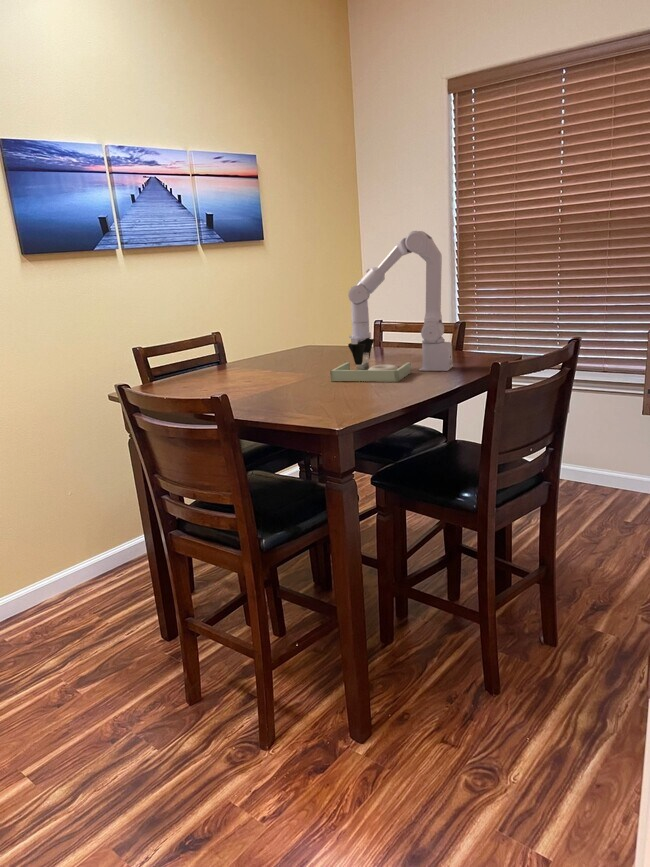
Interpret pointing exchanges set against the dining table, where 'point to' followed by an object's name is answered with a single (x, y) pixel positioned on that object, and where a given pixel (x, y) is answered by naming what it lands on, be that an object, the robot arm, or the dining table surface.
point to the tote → (369, 374)
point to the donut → (383, 367)
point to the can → (364, 362)
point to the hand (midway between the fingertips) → (362, 362)
